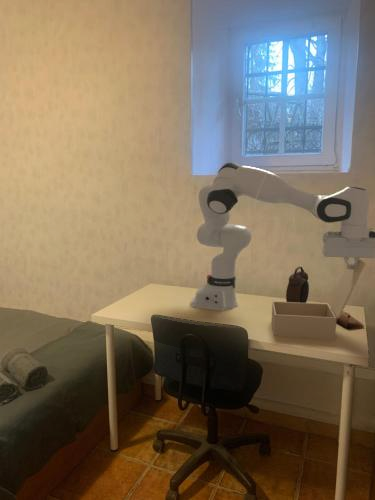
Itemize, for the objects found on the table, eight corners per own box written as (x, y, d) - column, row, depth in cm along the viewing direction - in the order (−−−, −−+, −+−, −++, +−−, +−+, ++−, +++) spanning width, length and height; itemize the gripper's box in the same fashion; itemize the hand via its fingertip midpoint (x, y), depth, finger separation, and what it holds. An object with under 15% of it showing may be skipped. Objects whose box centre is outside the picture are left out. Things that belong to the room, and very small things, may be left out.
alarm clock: (299, 315, 170) (301, 271, 166) (283, 311, 174) (285, 269, 170) (310, 306, 181) (312, 265, 178) (295, 303, 186) (297, 263, 182)
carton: (273, 339, 144) (274, 314, 142) (271, 324, 159) (272, 301, 158) (334, 343, 140) (336, 318, 139) (326, 327, 156) (327, 303, 154)
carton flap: (364, 263, 133) (365, 263, 133) (351, 253, 149) (353, 254, 149) (337, 317, 138) (338, 318, 138) (328, 303, 154) (329, 303, 154)
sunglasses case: (366, 325, 153) (358, 314, 151) (353, 337, 153) (345, 325, 151) (340, 310, 171) (332, 300, 169) (328, 320, 170) (320, 310, 169)
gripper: (325, 232, 136) (322, 270, 139) (386, 233, 133) (382, 272, 136) (321, 230, 142) (319, 266, 145) (380, 231, 139) (376, 268, 142)
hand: (350, 269), depth 140 cm, fingers closed
